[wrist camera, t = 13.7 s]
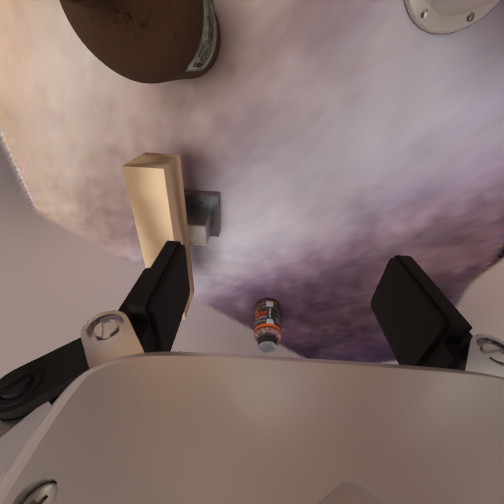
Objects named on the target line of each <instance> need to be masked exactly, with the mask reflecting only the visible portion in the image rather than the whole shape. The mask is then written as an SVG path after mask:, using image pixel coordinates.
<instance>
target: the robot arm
mask: <svg viewBox="0 0 504 504" xmlns="http://www.w3.org/2000/svg"><path fill="white" fill-rule="evenodd" d="M499 1H500V0H405V4H406V7H407V10H408V13H409V15H410V16H411V18H412V20H413V21H414V22H415V23H416V24H417V25H418V26H419V27H420V28H421V29H423V30H425V31H427V32H430V33H435V34H445V33H450V32H455V31H458V30H460V29H463V28H466V27H468V26H470V25H471V24H473V23H475V22H476V21H478V20H479V19H481V18H482V17H483V16H485V15H486V14H487V13H488V12H490V11H491V10H492V9H493V8H494V7H495V6H496V5H497V3H498V2H499ZM421 13H422V14H423V16H422V18H421ZM466 19H467V20H466ZM189 296H190V282H189V274H188V265H187V256H186V248H185V245H181V242H180V241H166V243H165V244H164V246H163V248H162V249H161V251H160V253H159V254H158V256H157V258H156V259H155V261H154V262H153V264H152V266H151V267H150V268H145V270H144V271H143V272H142V274H141V276H140V277H139V279H138V280H137V282H136V283H135V285H134V286H133V288H132V290H131V291H130V293H129V294H128V296H127V297H126V299H125V300H124V302H123V304H122V305H121V307H120V308H119V310H118V311H106V312H103V313H100V314H98V315H96V316H94V317H93V318H91V319H90V320H89V321H87V323H86V324H85V325H84V326H83V328H82V330H81V338H79V339H77V340H75V341H72V342H70V343H68V344H66V345H64V346H62V347H60V348H58V349H56V350H54V351H52V352H50V353H48V354H46V355H44V356H42V357H40V358H38V359H36V360H33V361H31V362H29V363H27V364H25V365H23V366H21V367H19V368H17V369H15V370H13V371H11V372H10V373H8V374H7V375H5V376H4V377H2V378H1V379H0V477H1V475H2V474H3V473H4V472H5V471H6V470H7V471H6V472H5V474H4V475H3V477H2V478H1V480H0V504H504V342H502V341H501V340H499V339H497V338H494V337H492V336H489V335H484V334H476V335H474V336H472V335H471V333H470V332H469V331H470V330H471V329H472V327H471V325H470V324H469V323H468V322H467V321H466V319H465V318H464V317H463V316H462V315H461V314H460V313H459V311H458V310H457V309H456V308H455V307H454V306H453V304H452V303H451V302H450V301H449V300H448V299H447V297H446V296H445V295H444V294H443V293H442V292H441V291H440V289H439V288H438V287H437V286H436V285H435V284H434V282H433V281H432V280H431V279H430V278H429V277H428V275H427V274H426V273H425V272H424V271H423V270H422V269H421V267H420V266H419V265H418V264H417V263H416V262H415V260H414V259H413V258H412V257H411V256H401V255H396V256H394V257H393V258H391V259H390V260H389V262H388V264H387V266H386V269H385V271H384V273H383V275H382V278H381V280H380V282H379V284H378V286H377V289H376V291H375V293H374V295H373V298H372V300H371V308H372V310H373V312H374V314H375V316H376V318H377V320H378V322H379V324H380V326H381V329H382V331H383V333H384V335H385V337H386V339H387V341H388V343H389V345H390V347H391V349H392V351H393V353H394V355H395V357H396V359H397V361H398V363H399V365H396V364H382V363H367V362H353V361H338V360H322V359H306V358H291V357H273V356H257V355H239V354H223V353H201V352H170V351H171V348H172V345H173V342H174V339H175V336H176V333H177V331H178V328H179V325H180V322H181V319H182V316H183V313H184V310H185V308H186V305H187V302H188V299H189Z"/></svg>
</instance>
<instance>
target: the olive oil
mask: <svg viewBox="0 0 504 504" xmlns="http://www.w3.org/2000/svg"><path fill="white" fill-rule="evenodd" d="M60 3H61V5H62V8H63V10H64V12H65V14H66V16H67V18H68V20H69V22H70V24H71V26H72V27H73V29H74V31H75V32H76V34H77V35H78V37H79V38H80V39H81V41H82V42H83V43H84V44H85V46H86V47H87V48H88V49H89V50H90V51H91V52H92V53H93V54H94V55H95V56H96V57H97V58H98V59H99V60H100V61H101V62H103V63H104V64H105V65H106V66H108V67H109V68H110V69H112V70H113V71H115V72H116V73H118V74H120V75H121V76H123V77H126V78H128V79H130V80H133V81H137V82H141V83H151V84H153V83H162V82H168V81H173V80H180V79H192V78H197V77H199V76H202V75H203V74H205V73H206V72H207V71H208V70H209V69H210V68H211V67H212V66H213V64H214V62H215V61H216V58H217V56H218V53H219V48H220V27H219V22H218V18H217V15H216V13H215V10H214V4H213V0H60Z"/></svg>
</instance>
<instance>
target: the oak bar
mask: <svg viewBox="0 0 504 504" xmlns="http://www.w3.org/2000/svg"><path fill="white" fill-rule="evenodd" d="M122 168H123V173H124V177H125V181H126V185H127V190H128V194H129V198H130V202H131V207H132V211H133V215H134V220H135V224H136V228H137V232H138V237H139V241H140V245H141V249H142V254H143V258H144V262H145V266H146V268H150V267H151V266H152V264H153V262H154V261H155V259H156V258H157V256H158V254H159V253H160V251H161V249H162V248H163V246H164V244H165V243H166V241H180V242H181V245H185V248H186V256H187V265H188V274H189V282H190V296H189V299H188V302H187V305H186V308H185V310H184V313H183V316H182V319H185V318H186V315H187V312H188V309H189V306H190V303H191V300H192V297H193V294H194V283H193V274H192V264H191V255H190V245H189V235H188V226H187V216H186V206H185V197H184V187H183V177H182V168H181V158H180V155H176V154H160V153H144V154H142V155H140V156H139V157H137V158H135V159H133V160H132V161H130V162H128V163H127V164H125V165H123V166H122Z"/></svg>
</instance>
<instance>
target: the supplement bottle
mask: <svg viewBox="0 0 504 504" xmlns="http://www.w3.org/2000/svg"><path fill="white" fill-rule="evenodd" d="M254 316H255V319H254V338H255V340H256V341H257V342H258V349H259V350H260V351H261V352H264V353H272V352H274V351H276V350H277V343H278V342H279V341H280V339H281V320H280V307H279V305H278V303H277V302H276V301H274V300H271V299H263V300H261V301H259V302H258V303H257V304H256V306H255V315H254Z"/></svg>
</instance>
